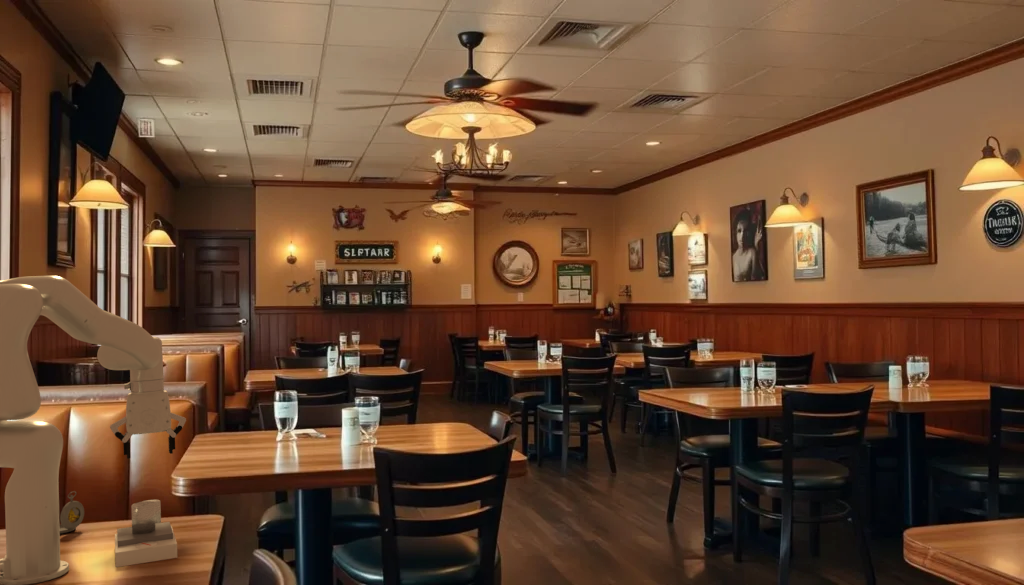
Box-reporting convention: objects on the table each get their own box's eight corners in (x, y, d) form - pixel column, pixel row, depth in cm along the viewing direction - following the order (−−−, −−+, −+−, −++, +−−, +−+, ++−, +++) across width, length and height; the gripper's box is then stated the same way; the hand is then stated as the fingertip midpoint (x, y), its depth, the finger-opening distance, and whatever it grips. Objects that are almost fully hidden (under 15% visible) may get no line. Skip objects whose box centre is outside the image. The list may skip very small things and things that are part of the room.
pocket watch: (49, 529, 201) (48, 489, 201) (86, 525, 203) (85, 485, 203) (40, 538, 193) (39, 496, 193) (80, 534, 195) (79, 493, 195)
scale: (115, 567, 170) (115, 547, 170) (115, 547, 184) (114, 528, 184) (177, 557, 175) (176, 538, 175) (172, 538, 190) (171, 520, 190)
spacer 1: (131, 535, 178) (130, 508, 178) (132, 529, 183) (132, 502, 183) (155, 532, 180) (154, 505, 180) (155, 526, 185) (155, 500, 184)
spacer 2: (140, 530, 198) (139, 505, 198) (139, 525, 202) (138, 501, 202) (161, 527, 200) (161, 502, 200) (160, 522, 204) (159, 498, 204)
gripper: (108, 391, 194) (111, 462, 195) (185, 385, 202) (188, 453, 202) (108, 388, 201) (111, 456, 201) (183, 382, 209) (185, 448, 209)
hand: (149, 455), depth 202 cm, fingers open, 9 cm apart
